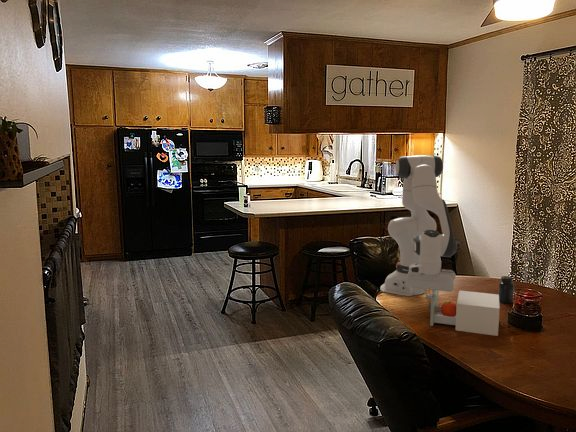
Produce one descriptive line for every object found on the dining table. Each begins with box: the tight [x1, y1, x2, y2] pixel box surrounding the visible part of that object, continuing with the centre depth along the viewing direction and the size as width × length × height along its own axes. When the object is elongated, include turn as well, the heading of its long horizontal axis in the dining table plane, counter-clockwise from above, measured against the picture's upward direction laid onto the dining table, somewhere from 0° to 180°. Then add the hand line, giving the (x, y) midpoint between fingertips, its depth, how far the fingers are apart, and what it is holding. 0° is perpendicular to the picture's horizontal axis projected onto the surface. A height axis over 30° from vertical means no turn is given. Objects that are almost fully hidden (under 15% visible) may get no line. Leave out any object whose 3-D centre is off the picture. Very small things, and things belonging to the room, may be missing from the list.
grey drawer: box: [428, 290, 456, 327], centre depth 202 cm, size 16×18×11 cm
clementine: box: [440, 300, 457, 317], centre depth 203 cm, size 8×7×7 cm
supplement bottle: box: [497, 275, 515, 304], centre depth 226 cm, size 7×7×12 cm
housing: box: [455, 290, 500, 337], centre depth 198 cm, size 16×18×12 cm
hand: (429, 298), depth 205 cm, fingers closed
